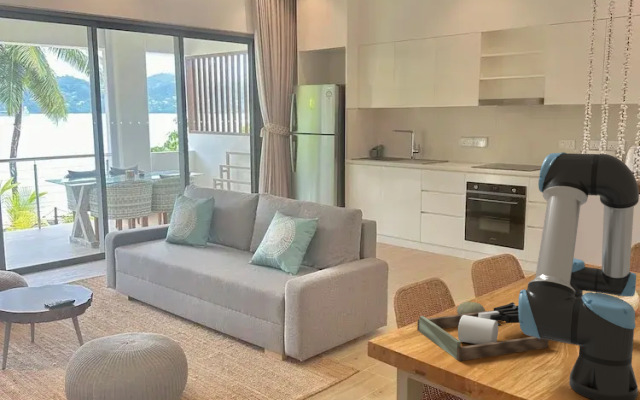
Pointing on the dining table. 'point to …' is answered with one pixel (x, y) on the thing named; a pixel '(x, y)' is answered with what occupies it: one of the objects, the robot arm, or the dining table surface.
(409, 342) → the dining table surface
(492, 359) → the dining table surface
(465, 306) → the sea urchin shell
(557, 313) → the robot arm
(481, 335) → the mug
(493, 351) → the wooden tray
